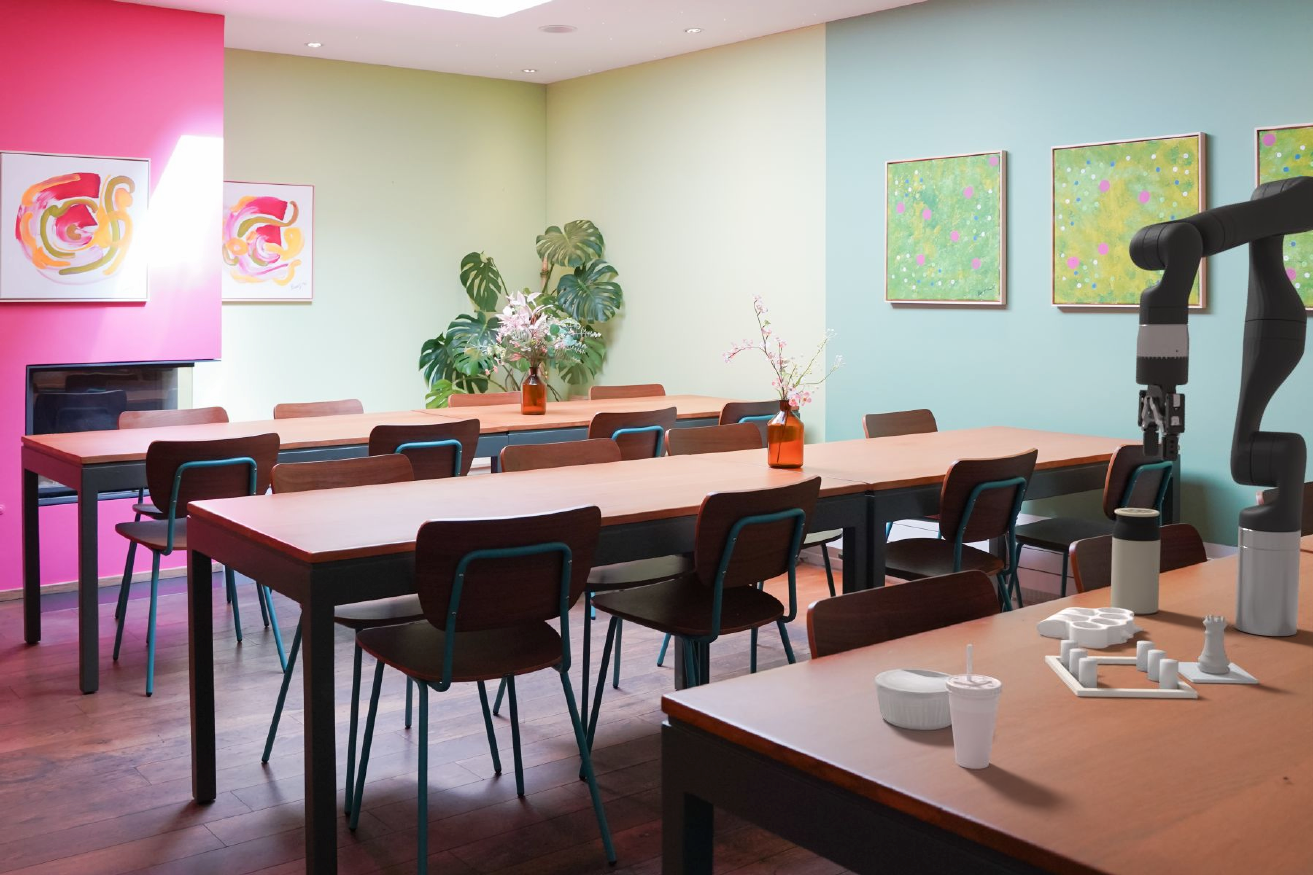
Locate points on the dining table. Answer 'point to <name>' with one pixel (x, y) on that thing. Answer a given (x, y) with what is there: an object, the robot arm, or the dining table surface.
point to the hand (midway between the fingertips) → (1159, 458)
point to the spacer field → (1145, 661)
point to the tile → (1198, 676)
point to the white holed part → (1091, 626)
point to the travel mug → (1136, 561)
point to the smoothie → (973, 715)
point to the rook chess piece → (1214, 647)
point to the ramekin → (914, 698)
